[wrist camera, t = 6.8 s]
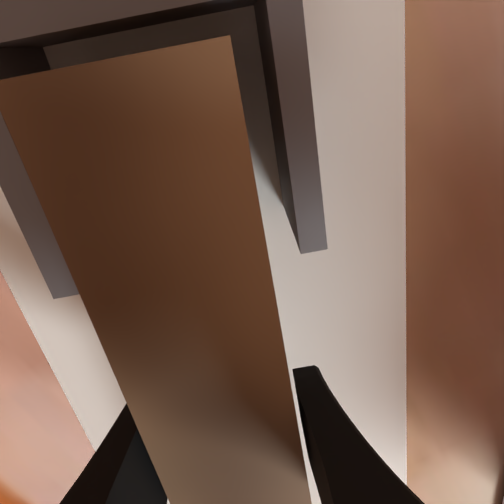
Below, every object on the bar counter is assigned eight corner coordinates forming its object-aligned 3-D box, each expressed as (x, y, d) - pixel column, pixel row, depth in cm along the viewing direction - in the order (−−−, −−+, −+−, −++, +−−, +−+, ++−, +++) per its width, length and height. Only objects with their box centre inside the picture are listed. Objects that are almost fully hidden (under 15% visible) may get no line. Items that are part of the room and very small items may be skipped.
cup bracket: (387, -95, 10) (484, -177, 6) (398, 488, 20) (437, 587, 16) (-108, 6, 10) (-293, -16, 6) (151, 529, 20) (135, 635, 16)
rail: (227, 39, 10) (229, 35, 6) (309, 498, 18) (333, 630, 14) (84, 67, 10) (-12, 82, 6) (230, 512, 18) (231, 645, 14)
